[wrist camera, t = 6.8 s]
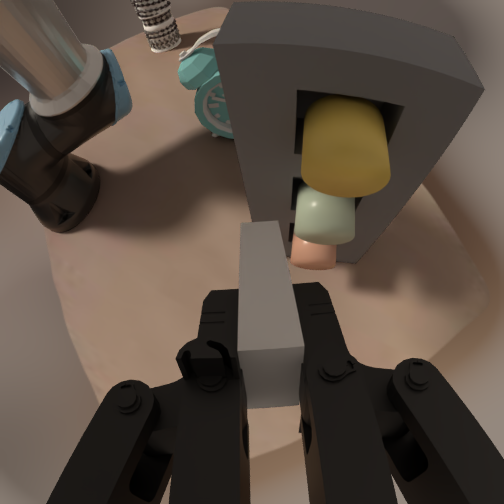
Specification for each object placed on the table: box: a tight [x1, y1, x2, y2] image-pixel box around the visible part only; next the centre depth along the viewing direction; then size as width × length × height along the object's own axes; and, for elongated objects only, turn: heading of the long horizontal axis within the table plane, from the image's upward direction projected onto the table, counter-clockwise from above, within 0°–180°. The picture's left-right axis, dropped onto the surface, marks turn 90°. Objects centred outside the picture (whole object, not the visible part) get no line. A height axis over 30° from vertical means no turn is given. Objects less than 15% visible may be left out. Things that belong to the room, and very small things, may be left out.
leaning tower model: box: [131, 0, 181, 53], centre depth 51 cm, size 9×9×25 cm
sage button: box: [294, 181, 355, 245], centre depth 25 cm, size 4×5×5 cm
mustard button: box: [301, 94, 391, 198], centre depth 16 cm, size 4×5×5 cm
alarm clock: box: [178, 28, 234, 139], centre depth 41 cm, size 17×10×20 cm, turn 90°
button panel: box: [213, 2, 485, 263], centre depth 27 cm, size 6×14×33 cm, turn 82°
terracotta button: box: [290, 226, 337, 270], centre depth 33 cm, size 4×5×5 cm
